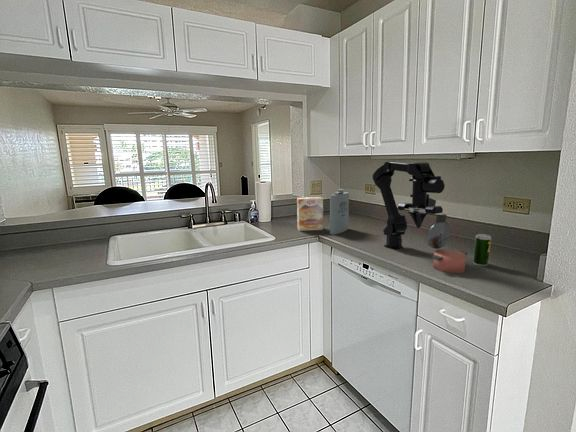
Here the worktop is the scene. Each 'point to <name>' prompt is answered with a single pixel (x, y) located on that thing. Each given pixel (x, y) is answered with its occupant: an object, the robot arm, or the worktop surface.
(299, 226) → the coffeecake box
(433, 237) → the cooker lid
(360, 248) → the worktop surface
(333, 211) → the flask
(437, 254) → the cooker pot
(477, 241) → the beer can
